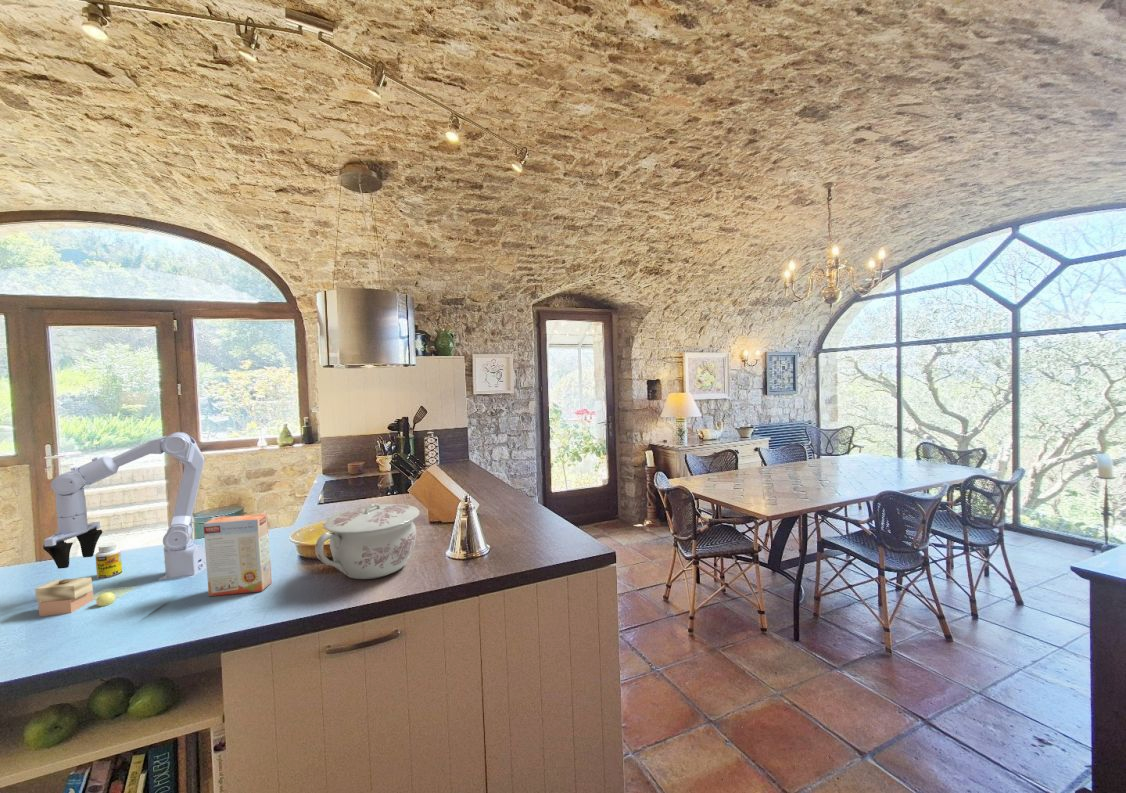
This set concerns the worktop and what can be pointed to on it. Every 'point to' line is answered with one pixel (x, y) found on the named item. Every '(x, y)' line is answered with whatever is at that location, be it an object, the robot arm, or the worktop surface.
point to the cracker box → (237, 554)
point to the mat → (115, 591)
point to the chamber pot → (370, 540)
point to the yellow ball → (105, 599)
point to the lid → (63, 589)
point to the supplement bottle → (108, 561)
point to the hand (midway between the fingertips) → (76, 562)
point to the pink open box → (64, 605)
